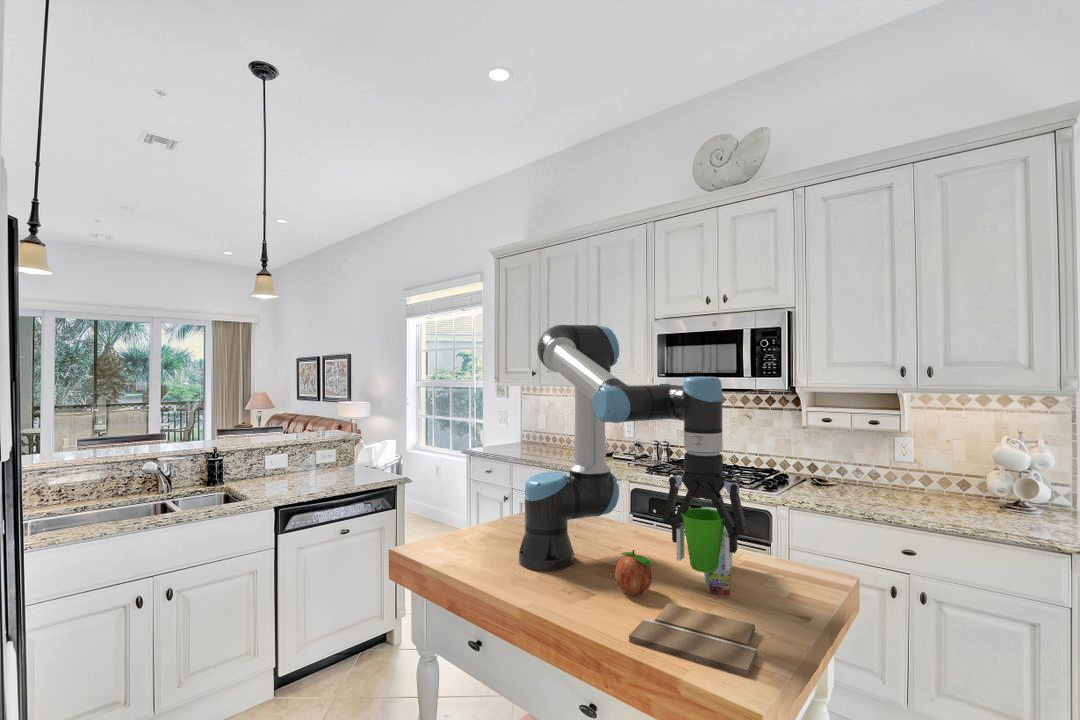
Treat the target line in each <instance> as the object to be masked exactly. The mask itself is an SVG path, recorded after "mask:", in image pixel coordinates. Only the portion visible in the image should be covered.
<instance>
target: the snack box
mask: <svg viewBox="0 0 1080 720" xmlns="http://www.w3.org/2000/svg"><path fill="white" fill-rule="evenodd" d="M701 508H704V507H701ZM706 508H707V509H714V510H717V509H716V507H706ZM727 534H728V532H727V530H726V528H725V526H724V530H723V536H722V543H721V549H720V555H719V562H718V568H717V569H716V571H715V572H711V573H704V572H703V577H704V578H705V580H704V581H705V585H706V589H707V593H708V594H712V595H721V596H731V575H732V570H731V569H732V568H731V569H730V570H725V536H726V535H727Z"/></svg>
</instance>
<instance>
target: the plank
mask: <svg viewBox="0 0 1080 720" xmlns="http://www.w3.org/2000/svg"><path fill="white" fill-rule="evenodd" d="M654 621H656V622H659V623H663V624H667V625H670V626H674V627H678V628H681V629H685V630H689V631H693V632H696V633H700V634H704V635H707V636H711V637H715V638H718V639H722V640H726V641H729V642H733V643H737V644H740V645H744V646H748V647H749V645H750V643H751V641H752V638H753V637H754V634H755V632H756V624H754V623H749V622H745V621H741V620H737V619H734V618H729V617H725V616H722V615H717V614H713V613H710V612H705V611H702V610H698V609H694V608H689V607H686V606H682V605H677V604H673V603H670V602H668V603H667V604H666V605H665V606H664V607H663V609H662V610H661V611H660V612H659V614H657V616H656V617H655V618H654Z"/></svg>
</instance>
